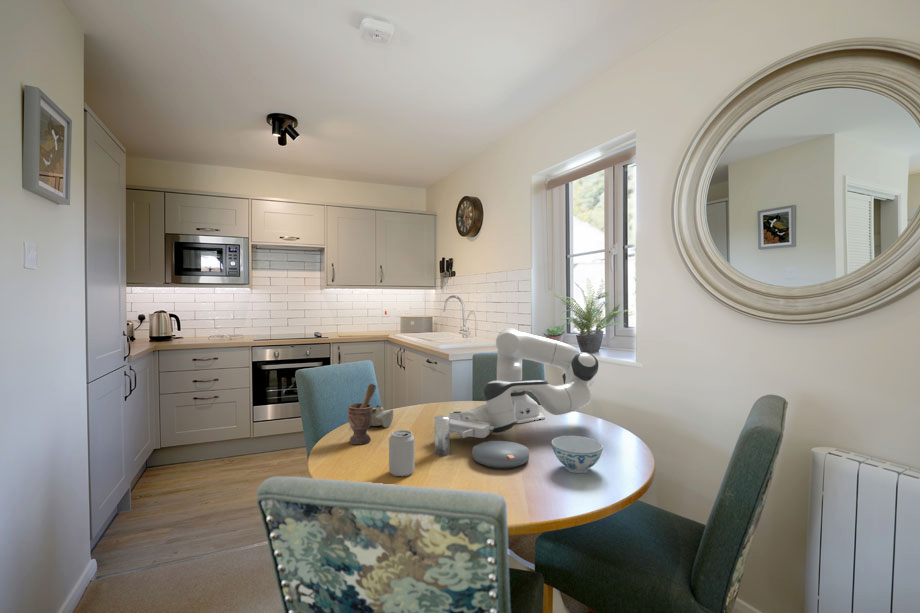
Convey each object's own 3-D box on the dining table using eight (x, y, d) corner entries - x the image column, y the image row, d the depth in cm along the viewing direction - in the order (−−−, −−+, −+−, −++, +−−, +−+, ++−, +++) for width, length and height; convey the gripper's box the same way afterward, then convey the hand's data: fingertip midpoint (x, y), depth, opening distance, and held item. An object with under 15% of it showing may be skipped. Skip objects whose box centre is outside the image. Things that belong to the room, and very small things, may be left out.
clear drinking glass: (447, 449, 146) (447, 414, 146) (451, 454, 141) (451, 418, 141) (433, 451, 144) (432, 416, 144) (436, 456, 139) (437, 420, 139)
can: (409, 479, 122) (409, 437, 121) (385, 476, 123) (385, 435, 123) (417, 469, 129) (417, 429, 129) (394, 467, 130) (394, 428, 130)
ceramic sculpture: (386, 408, 166) (353, 407, 172) (387, 431, 166) (354, 429, 171) (399, 403, 176) (368, 402, 182) (400, 424, 176) (368, 422, 181)
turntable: (464, 450, 142) (464, 442, 142) (513, 444, 148) (513, 436, 148) (485, 470, 125) (485, 461, 125) (539, 462, 131) (539, 454, 131)
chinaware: (572, 482, 119) (572, 455, 119) (541, 463, 133) (541, 439, 133) (613, 474, 125) (613, 448, 125) (580, 457, 139) (580, 433, 139)
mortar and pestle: (357, 434, 162) (357, 382, 162) (379, 435, 161) (379, 383, 160) (344, 444, 151) (344, 388, 150) (367, 446, 149) (367, 389, 149)
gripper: (496, 435, 151) (477, 447, 139) (448, 427, 162) (426, 437, 150) (496, 418, 151) (476, 428, 139) (448, 410, 161) (426, 419, 150)
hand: (450, 433), depth 144 cm, fingers open, 8 cm apart
